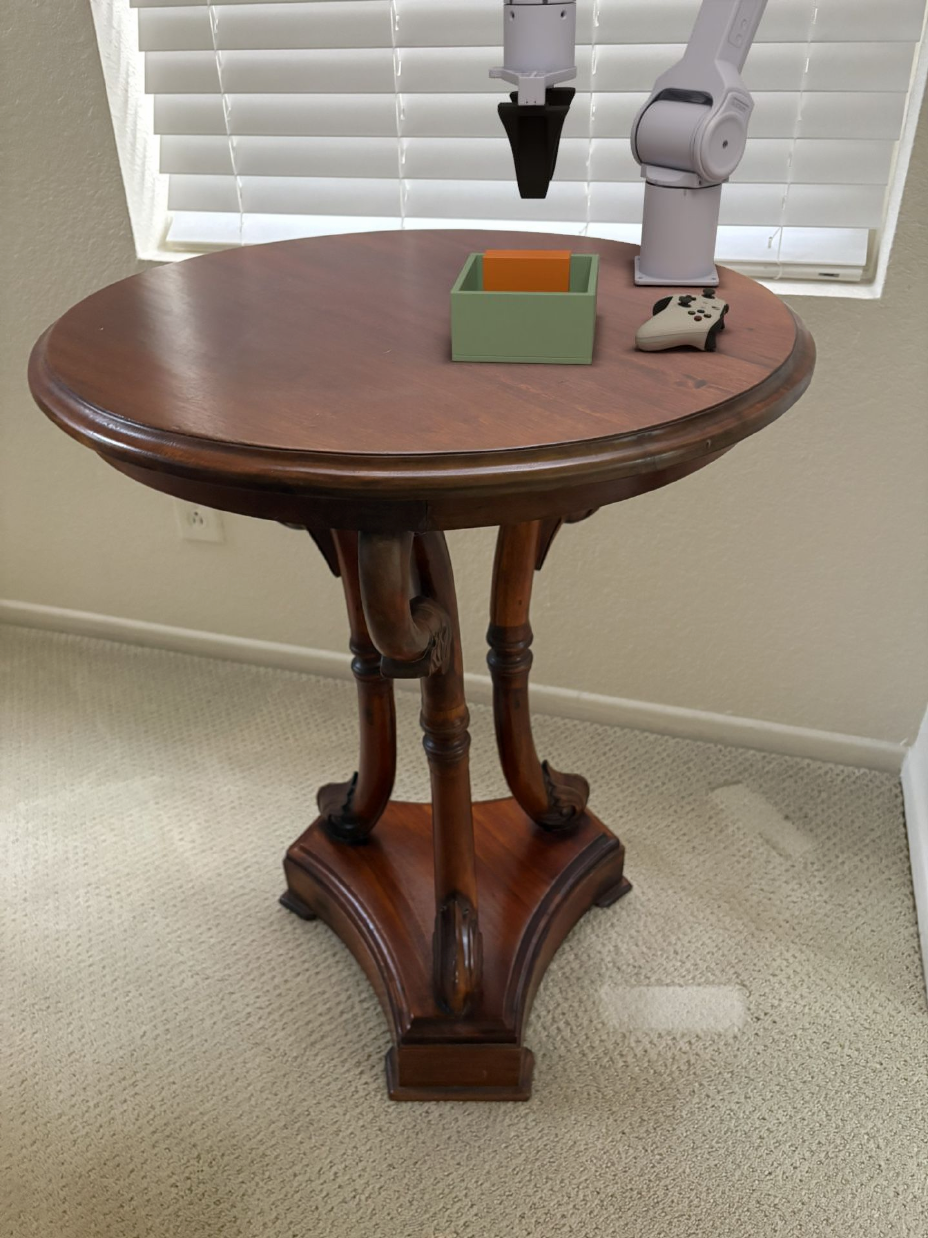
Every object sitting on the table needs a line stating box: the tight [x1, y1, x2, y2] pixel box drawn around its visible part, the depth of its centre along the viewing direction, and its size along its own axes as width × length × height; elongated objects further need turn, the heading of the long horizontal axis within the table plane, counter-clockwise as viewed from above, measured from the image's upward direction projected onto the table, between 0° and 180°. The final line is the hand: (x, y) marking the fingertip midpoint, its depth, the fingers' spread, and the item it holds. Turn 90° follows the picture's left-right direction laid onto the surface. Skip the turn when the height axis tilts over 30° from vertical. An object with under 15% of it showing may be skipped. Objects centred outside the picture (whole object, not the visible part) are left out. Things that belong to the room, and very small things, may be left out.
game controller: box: [634, 287, 730, 352], centre depth 84 cm, size 10×5×6 cm
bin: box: [449, 252, 600, 365], centre depth 84 cm, size 12×11×6 cm
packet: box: [483, 249, 572, 292], centre depth 83 cm, size 2×7×6 cm, turn 82°
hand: (537, 188), depth 86 cm, fingers open, 7 cm apart
